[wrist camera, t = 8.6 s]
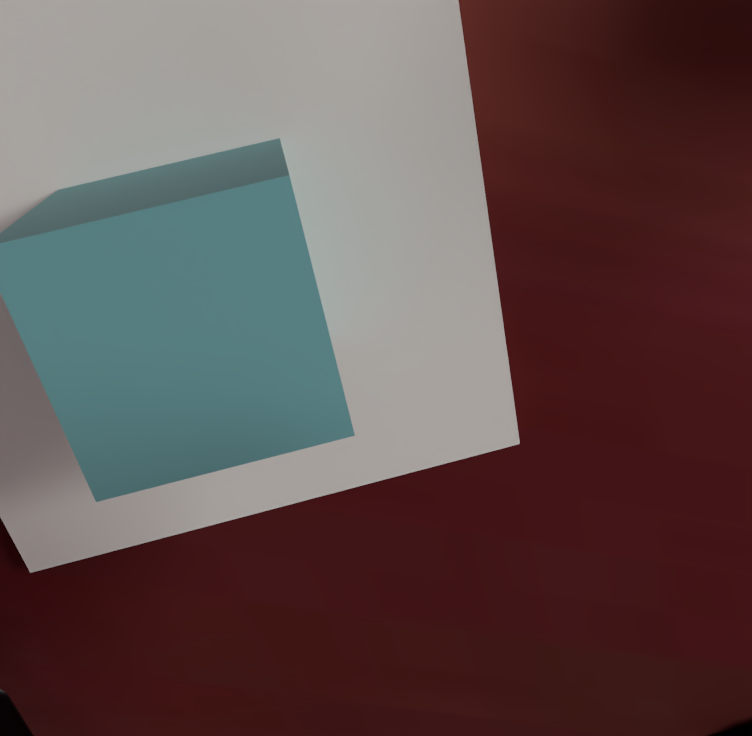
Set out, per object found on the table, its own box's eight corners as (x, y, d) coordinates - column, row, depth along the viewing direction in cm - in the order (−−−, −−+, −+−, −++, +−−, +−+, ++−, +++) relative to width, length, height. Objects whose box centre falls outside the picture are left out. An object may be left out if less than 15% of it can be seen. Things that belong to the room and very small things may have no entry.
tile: (512, 433, 21) (519, 443, 20) (36, 558, 20) (30, 572, 20) (432, -133, 15) (438, -140, 14) (-251, 16, 14) (-271, 15, 14)
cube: (330, 338, 18) (355, 435, 14) (135, 387, 18) (95, 501, 14) (279, 137, 16) (289, 174, 12) (58, 189, 16) (-20, 247, 11)
